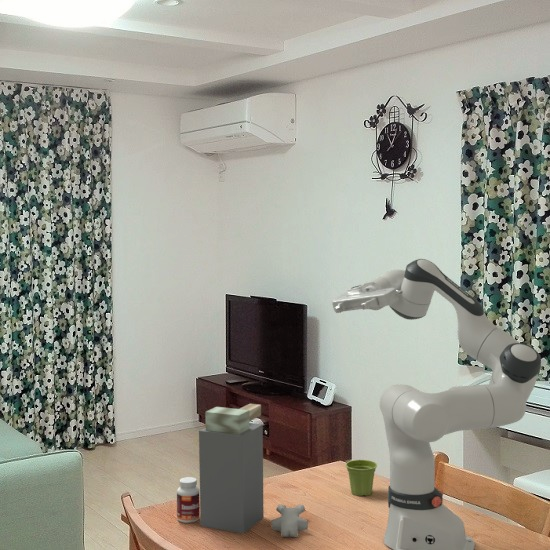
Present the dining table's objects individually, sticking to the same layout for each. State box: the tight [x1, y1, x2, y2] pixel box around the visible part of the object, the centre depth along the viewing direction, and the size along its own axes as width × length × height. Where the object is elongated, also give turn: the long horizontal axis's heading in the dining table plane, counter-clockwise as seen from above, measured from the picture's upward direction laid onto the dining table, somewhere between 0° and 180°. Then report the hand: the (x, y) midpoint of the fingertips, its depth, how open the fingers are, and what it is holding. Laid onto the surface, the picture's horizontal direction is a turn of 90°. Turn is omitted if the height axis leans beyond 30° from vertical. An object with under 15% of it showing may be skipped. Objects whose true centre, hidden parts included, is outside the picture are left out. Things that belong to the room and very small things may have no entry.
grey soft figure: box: [271, 504, 309, 538], centre depth 211 cm, size 10×5×15 cm
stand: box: [198, 422, 265, 535], centre depth 215 cm, size 13×12×26 cm
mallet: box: [204, 403, 262, 434], centre depth 218 cm, size 10×20×5 cm, turn 156°
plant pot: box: [345, 459, 378, 497], centre depth 237 cm, size 9×9×9 cm
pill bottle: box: [176, 476, 200, 524], centre depth 218 cm, size 6×6×11 cm
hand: (350, 308), depth 226 cm, fingers open, 8 cm apart
